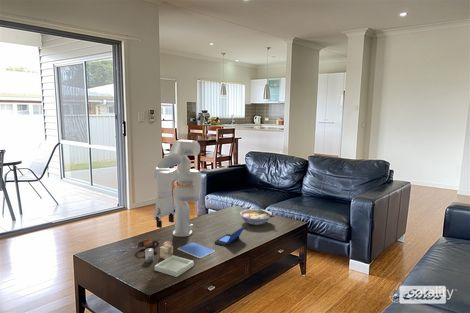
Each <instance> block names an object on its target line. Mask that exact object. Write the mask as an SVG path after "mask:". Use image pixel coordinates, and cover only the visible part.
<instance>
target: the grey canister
mask: <svg viewBox="0 0 470 313" xmlns="http://www.w3.org/2000/svg"><path fill="white" fill-rule="evenodd" d="M144 251H145V253H144V255H145V258H144V259H145V263H153V262H154V261H155V258H154V257H155V256H154V253H155V250H154V249H153V248H148V249H147V248H145V250H144Z"/></svg>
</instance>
